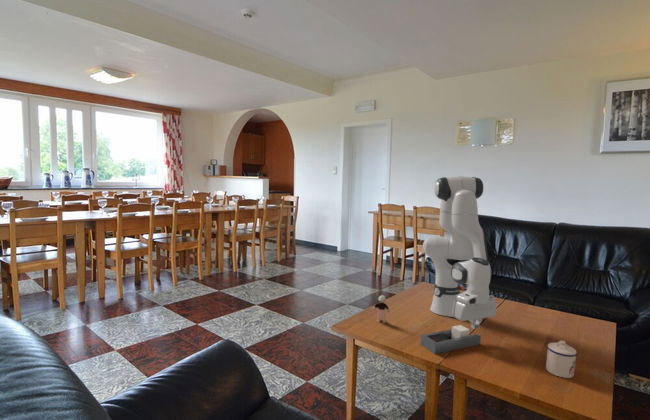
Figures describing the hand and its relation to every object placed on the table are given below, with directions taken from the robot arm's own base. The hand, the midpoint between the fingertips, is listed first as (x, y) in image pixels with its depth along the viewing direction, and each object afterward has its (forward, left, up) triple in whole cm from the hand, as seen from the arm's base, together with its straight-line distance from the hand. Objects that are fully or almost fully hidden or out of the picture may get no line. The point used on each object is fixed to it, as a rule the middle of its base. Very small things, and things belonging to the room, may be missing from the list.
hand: (474, 328), depth 155 cm
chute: (+13, 0, -5) cm, 14 cm away
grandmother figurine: (+28, -30, -6) cm, 42 cm away
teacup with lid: (-11, +30, -6) cm, 32 cm away
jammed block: (+8, 0, -4) cm, 9 cm away
